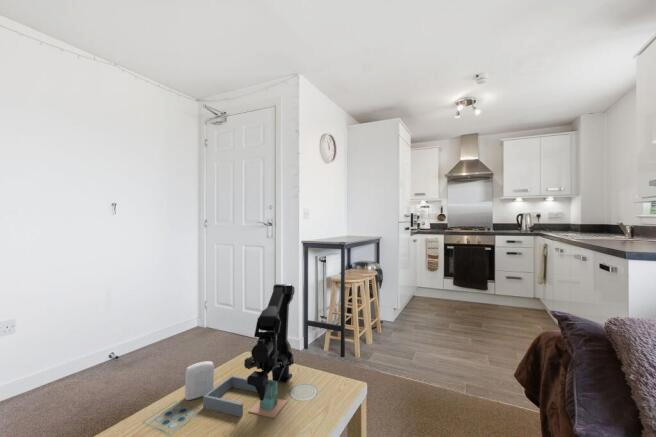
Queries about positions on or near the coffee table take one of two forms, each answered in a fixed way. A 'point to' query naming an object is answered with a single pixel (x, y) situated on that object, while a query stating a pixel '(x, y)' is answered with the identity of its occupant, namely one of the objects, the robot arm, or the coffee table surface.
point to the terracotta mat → (268, 413)
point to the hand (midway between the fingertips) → (268, 393)
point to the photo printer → (199, 380)
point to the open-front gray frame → (223, 405)
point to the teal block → (270, 396)
